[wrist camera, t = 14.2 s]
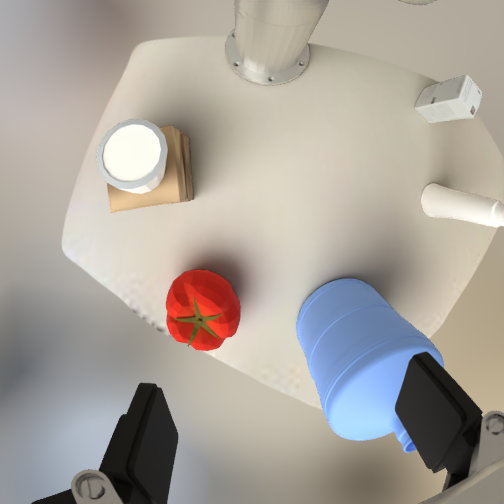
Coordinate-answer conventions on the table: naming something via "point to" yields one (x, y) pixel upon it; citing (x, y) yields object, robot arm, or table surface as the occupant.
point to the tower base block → (187, 167)
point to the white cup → (133, 156)
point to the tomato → (202, 309)
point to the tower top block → (169, 187)
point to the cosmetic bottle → (461, 206)
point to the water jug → (359, 358)
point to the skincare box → (449, 100)
